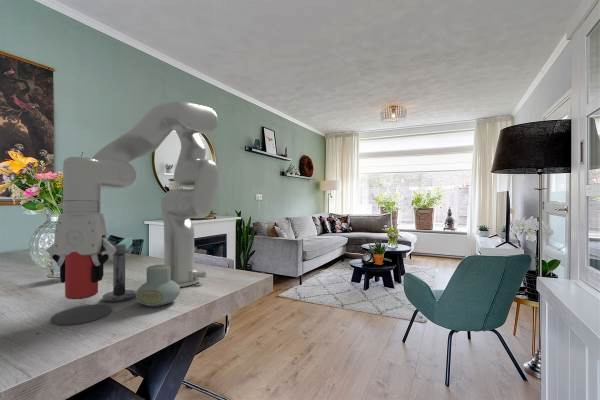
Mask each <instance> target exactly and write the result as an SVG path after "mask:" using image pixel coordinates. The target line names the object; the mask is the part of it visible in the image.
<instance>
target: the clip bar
mask: <svg viewBox="0 0 600 400" xmlns="http://www.w3.org/2000/svg"><path fill="white" fill-rule="evenodd" d="M112 245H113V246H114V247H115V248H116V249H117V250H116V252H115V253H114V254H115V255H117V254H125V255H126V250H127V249H128V248H130V246H131V245H133V237H125V238H123V239H122V240H121V241H119V243H117V244H112Z"/></svg>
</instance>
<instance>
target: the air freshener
mask: <svg viewBox="0 0 600 400" xmlns="http://www.w3.org/2000/svg"><path fill="white" fill-rule="evenodd" d="M180 292H181V287H179V285H178V284H177V283H176V282H174V281H172V280H170V266H169V265H164V264H155V265H150V266H148V267H147V268H146V282H145V283H143V284H142V285H140V287H139V288H137V290H136V291H135V297H136V300H137V301H138V302H139V303H140V304H142V305H143V306H147V307H150V308H158V307H162V306H164V305H168V304H171V303H172V302H174V301H175V300H176V299H177V298H178V297H179V295H180Z"/></svg>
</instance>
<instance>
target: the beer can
mask: <svg viewBox="0 0 600 400" xmlns="http://www.w3.org/2000/svg"><path fill="white" fill-rule="evenodd" d="M92 266H95V264H94V262H93V260H92V258H91V255H90V256H84V255H80V254H79V253H77V252H71V253H70V254H69V255H67V256H65V283H64V297H65V298H66V299H68V300H83V299H87V298H91V297H94V296H95V295H97V294H98V292H99V281H98V282H96V283H93V282H92Z"/></svg>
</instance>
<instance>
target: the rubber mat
mask: <svg viewBox="0 0 600 400" xmlns="http://www.w3.org/2000/svg"><path fill="white" fill-rule="evenodd" d="M112 311H113V310H112V306H110V305H108V304H98V303H97V304H87V305H80V306H75V307H72V308H68V309H67V308H66V309H65V310H62V311H60V312H57V313H55V314H54V315H52V317H51V318H50V322H51V324H53V325H56V326H76V325H77V326H78V325H82V324H87V323H90V322H94V321H97V320H101V319H103V318H105V317H107V316H109V315H110V314H111V313H112Z"/></svg>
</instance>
